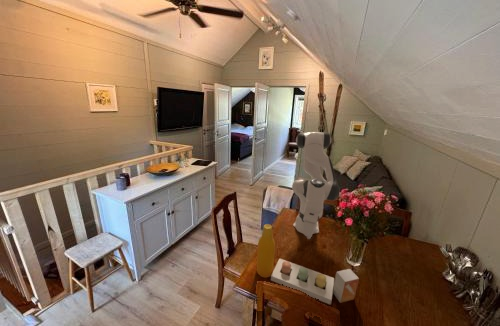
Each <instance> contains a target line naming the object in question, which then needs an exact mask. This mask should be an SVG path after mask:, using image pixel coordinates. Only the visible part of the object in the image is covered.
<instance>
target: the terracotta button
mask: <svg viewBox="0 0 500 326" xmlns="http://www.w3.org/2000/svg"><path fill="white" fill-rule="evenodd" d="M287 261H288V260H285V262H283V263H282V271H281V273H283V274H285V275H288V276H289V275H290V270H291V264H290V263H289V262H290V261H288V262H287Z"/></svg>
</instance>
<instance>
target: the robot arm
mask: <svg viewBox="0 0 500 326" xmlns="http://www.w3.org/2000/svg"><path fill="white" fill-rule="evenodd" d="M331 142H332V137H331V134H330V133H329V132H325V131H324V132H322V131H321V132H320V131H309V132H307V131H306V132H300V133H298V134H297V136H296V138H295V144H296V146H297V148H299V149H303V150H304V151H303V152H304V153H303V172H304V173H306V174H307V175H309V176H310V177H311V179H308V178H307V179H305V178H301V179H295V180H294V181H293V182H292V185H291V188H292V189H291V190H292V191H293V193H294V194H295V195H296V196H297V197H298V198H299V201H300V205H299V207H300V209H299V211H298V215H297V216H296V218H295V222H294V223H293V224H292V226H293V227H294V228H295V229H296V231H297V232H299V233H301V234H303V235H304V236H305V237H306V239H307V240H310V239H312V238H311V237H313V234H319V233H320V229H319V219H321V218H322V217H323V212H324V202H325V201H330V202H334V201H336V200H337V199H339V197H340V194H341V191H340V190H341V189H340V185H339V183H338V181H337V177H336V174H335V169H334V166H333V162H332V159H331V157H330V156H328V154H326V152H325V149H328V148H330V146H331ZM321 168H322V170H324V174H325V177H326V178H324V177H323V174H322V171H321Z"/></svg>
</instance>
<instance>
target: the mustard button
mask: <svg viewBox="0 0 500 326" xmlns="http://www.w3.org/2000/svg"><path fill="white" fill-rule="evenodd" d="M324 275H325V274H324ZM324 275H323V273H321V274H318V275H317V277H316V282H315V286H316V287H319V288H321V289H324V288H326V286H325V284H326V277H325V276H324Z"/></svg>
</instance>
